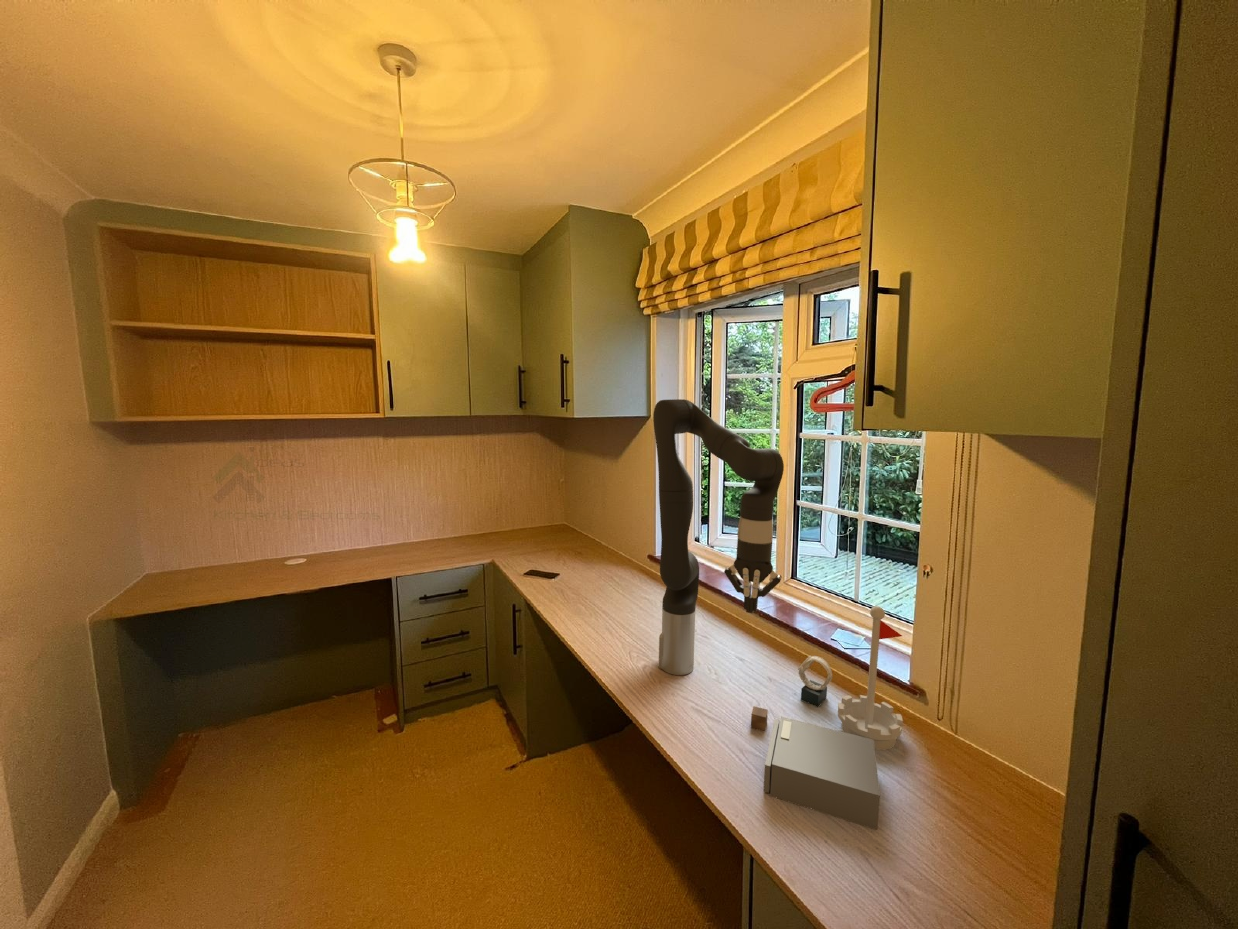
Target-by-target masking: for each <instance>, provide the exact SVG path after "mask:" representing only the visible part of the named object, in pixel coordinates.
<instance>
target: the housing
mask: <svg viewBox="0 0 1238 929" xmlns="http://www.w3.org/2000/svg"><path fill="white" fill-rule="evenodd" d="M877 766H878V764H877V758H876V749H875V746H874V740H873V739H869V738H865V737H861V736H857V735H853V734H849V733H845V732H843V731H841V730H836V729H833V728H830V727H825V726H820V725H817V724H813V723H809V722H805V721H802V720H797V719H793V718H789V717H785V716H782V715H780V719H779V729H778V735H777V740H776V745H775V751H774V756H773V761H772V773H771V785H770V791H769V793H770V795H769V796H770V797H773V798H775V797H777V798H776V799H779V800H783V801H785V802H788V801H789V802H788V803H791V802H792V804H794V803H795V804H794V805H797V804H799V805H798V806H801V807H804V806H805V807H804V808H807V807H808V809H810V808H812V809H811V810H813V809H814V811H817V812H819V813H823V814H825V815H829V816H832V817H835V818H839V819H842V820H844V821H848V822H851V823H854V824H858V825H861V826H863V827H866V828H870V829H873V830H878V825H879V810H880V799H881V794H880V793H881V792H880V785H879V777H878V776H879V775H878V767H877Z"/></svg>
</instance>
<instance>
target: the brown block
mask: <svg viewBox="0 0 1238 929" xmlns="http://www.w3.org/2000/svg"><path fill="white" fill-rule="evenodd" d="M768 712H769V711H768V708H767V709H765V708H762V707H759V706H753V707H752V711H751V716H750V717H751V718H750V728H751V729H752V730H757V731H760V732H764V733H765V732H766V730H767V725H768V714H769V713H768Z"/></svg>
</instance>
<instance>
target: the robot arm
mask: <svg viewBox="0 0 1238 929" xmlns="http://www.w3.org/2000/svg"><path fill="white" fill-rule="evenodd" d="M652 414H653V419H652V420H653V430H654V431H653V432H654V437H655V438H654V439H655V445H656V453H657V454H656V455H657V467H658V468H657V469H658V501H659V502H658V504H659V517H660V518H659V519H660V521H659V522H660V532H661V534H660V535H661V544H660V561H659V574H660V578H661V580H662V582H663V584H664V586H666V588H665V593H664V595H663V598H662V610H661V611H662V612H661V633H660V634H659V637H658V669H661V670H663V671H664V672H666V673H668V674H669V675H675V676H683V675H688V674H690V673H692V672H693V670H694V668H695V667H694V665H695V659H694V658H695V635H696V634H695V632H696V631H695V630H696V607H697V601H698V597H699V587H700V586H699V584H700V564H699V561H698V558H697V557H696V555H694V554H693V553H692V552H691V551H689V546H688V545H689V542H688V541H689V531H690V527H691V522H692V517H693V512H694V511H693V510H694V489H693V488H694V486H693V485H694V484H693V480H692V477H691V475H690V473H689V472H688V470H687V468H686V466H685V465H684V463H683V461H682V459H681V458H680V456H679V453H678V449H677V444H676V434H677V435H678V434H679V435H680V434H686V433H687V434H688V433H689V434H692V435H694V436H697V437H700V438H701V440H702V442H703V443H702V444H703V445H704V447H705V449H706V450H707V451H708V452H709V453H710V454H712V455H713V456H715V457H716V458H718V459H720V460H721V461H723V462H725V463H726V465H728V467H730V469H731V470H732V471H733V473H734V474H735V475H736V476H738V477H739V478H741V479H743V480H745V481H748V482H754V484H753V486H752V488H750V489H748V490H747V491H744V492H743V493H742V495H741V499H740V513H739V521H738V528H737V529H738V530H737V544H736V545H737V546H736V557H735V560H734V561H733V564H732V565H730V566H727V567H725V569H724V571H723V572H724V574H725V576H726V578H727V579H728V580H729V582H730V583H731V585H732V587H733V588H734V590H735V591H736V592H737V593H740V594H742V595H743V609H744V610H745V611H746V613H747V614H748V613H749V614H754V612H756V611H757V609H758V602H759V598H765V597H766V596H767V595H768V594H769V593H770V592H771V591H772V590H773V589H775V587H776V586H778V584H780V583H781V581H782V579H783V578H782V575H781V574H778V573H777V572H776V571H774V567H773V565H772V550H773V538H774V537H773V536H774V520H773V519H774V504H775V503H774V502H775V498H776V496H777V494H778V491H779V488H780V485H781V482H782V480H783V475H784V471H785V470H784V468H785V465H784V459H783V456H782V455H781V453H780V452H779V451H778V450H776V449H775V448H751V446H750V443H749V441H748V440H747V439H746V438H745V437H743V436H742V435H740V434H738V433H736V432H734V431H732V430H730V429H729V428H726V427H725V426H723V425H722V424H719V423H718V422H717V421H715V420H714V419H713V418H712V417H710V416H709V415H708V414H707V413H706V412H704V411H703V410H702V409H701V408H700V407H698V406H697V405H696V404H695V403H694V402H692V401H691V400H688V399H662V400H659V401H657V402H656V404H655V406H654V409H653V413H652ZM737 574H738V575H739V576H740V579H742V582H743V583H742V582H741V580H740V579H739V577H738V576H737ZM768 576H769V577H768ZM767 578H769V582H768V583H767V584H766V585H765V586H763V587H762V588H761V589H760V586H761V583H763V582H764V580H766V579H767Z"/></svg>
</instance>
